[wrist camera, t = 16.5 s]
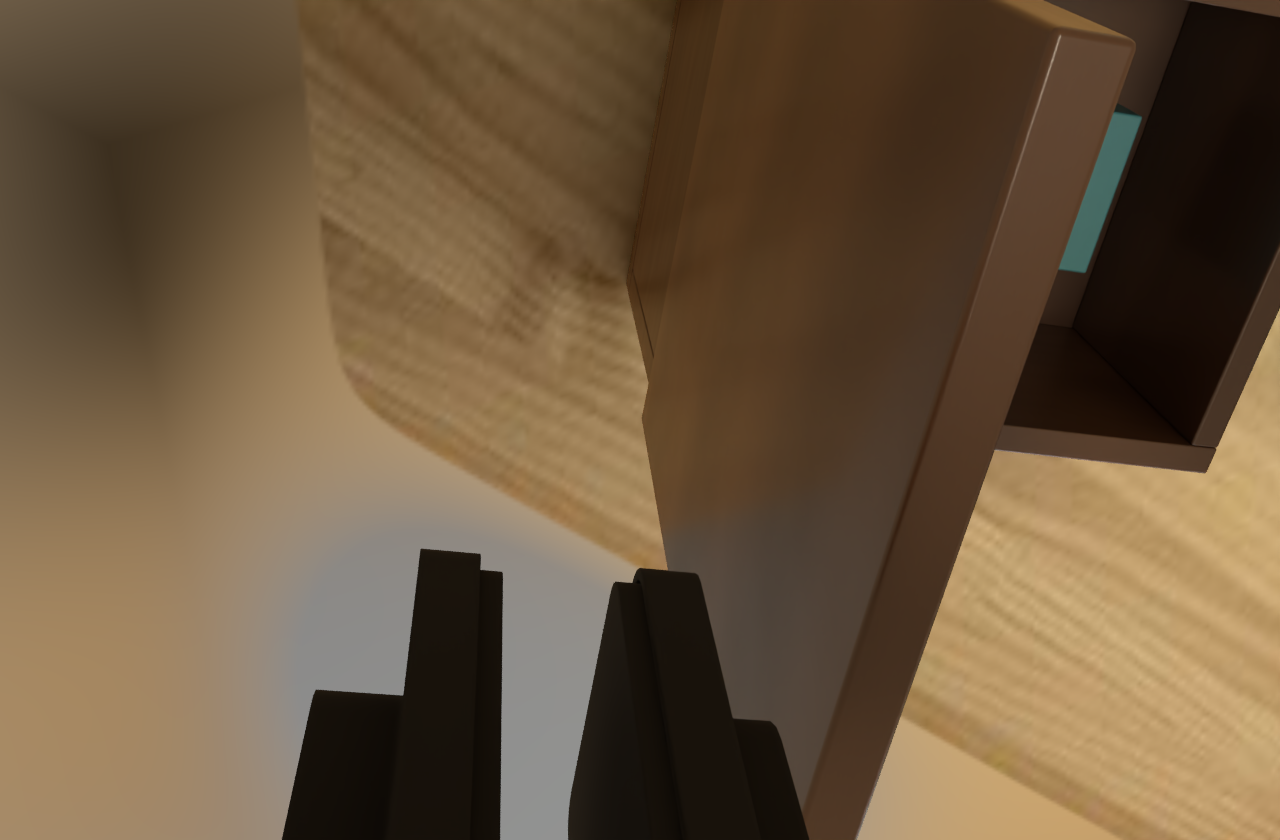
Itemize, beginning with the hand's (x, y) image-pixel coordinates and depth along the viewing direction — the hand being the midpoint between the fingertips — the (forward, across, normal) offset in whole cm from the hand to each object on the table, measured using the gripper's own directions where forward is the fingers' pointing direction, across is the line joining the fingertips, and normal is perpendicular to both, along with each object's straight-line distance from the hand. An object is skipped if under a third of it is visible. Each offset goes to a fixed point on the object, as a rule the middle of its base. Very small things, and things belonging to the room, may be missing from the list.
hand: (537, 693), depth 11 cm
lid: (+10, -4, 0) cm, 11 cm away
